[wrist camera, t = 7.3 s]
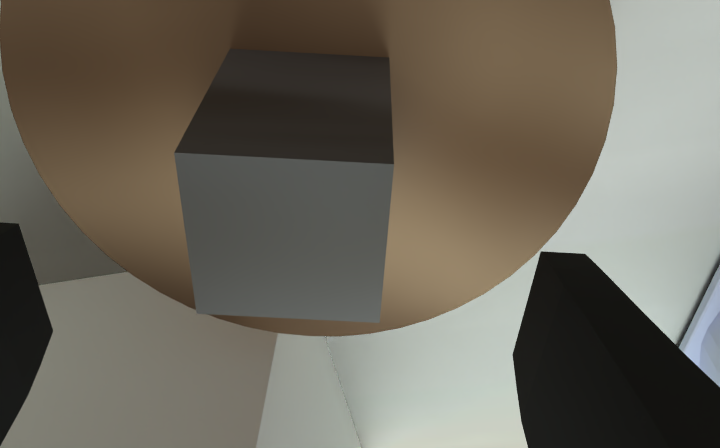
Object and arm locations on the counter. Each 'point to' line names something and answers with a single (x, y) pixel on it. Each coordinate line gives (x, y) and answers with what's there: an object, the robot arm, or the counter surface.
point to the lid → (314, 144)
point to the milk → (174, 378)
